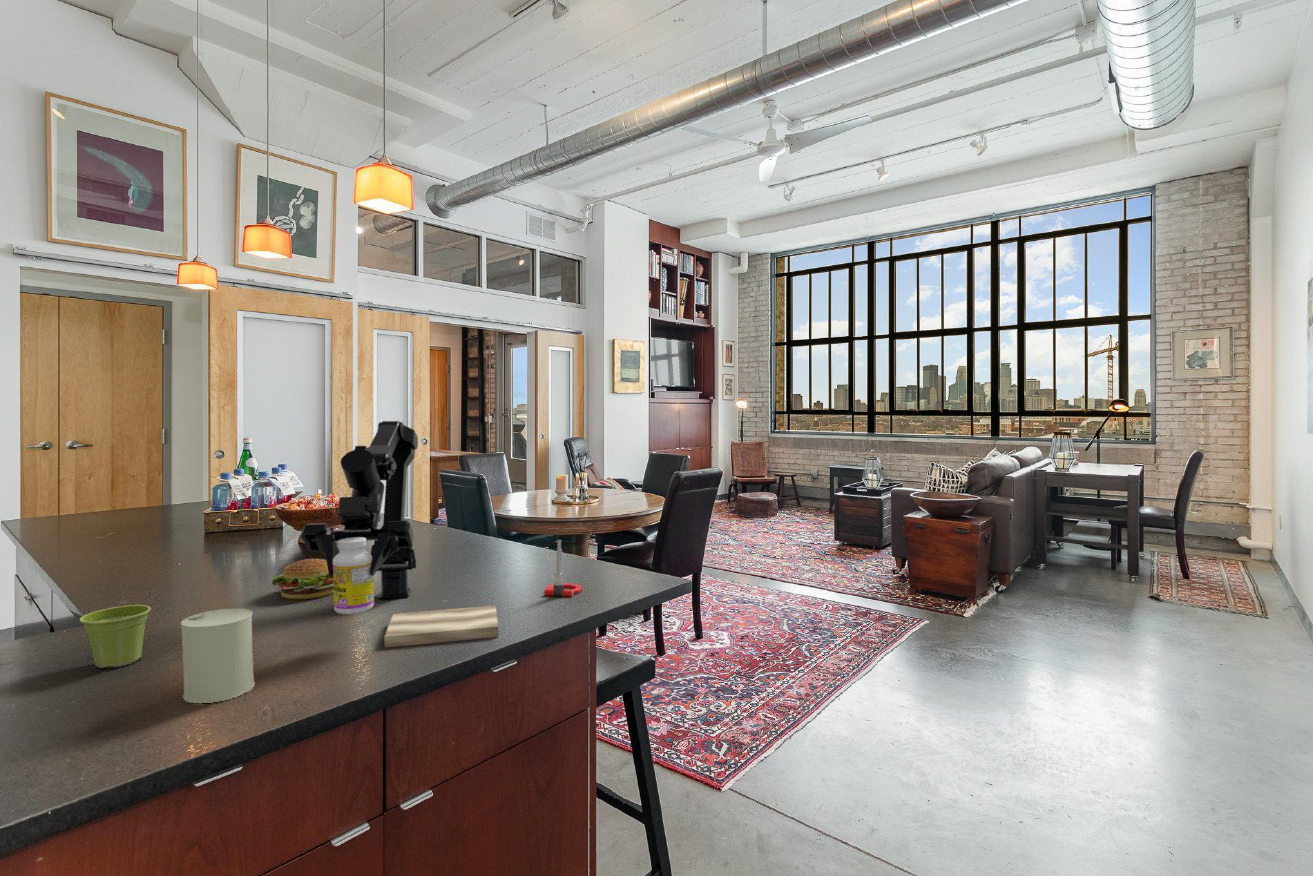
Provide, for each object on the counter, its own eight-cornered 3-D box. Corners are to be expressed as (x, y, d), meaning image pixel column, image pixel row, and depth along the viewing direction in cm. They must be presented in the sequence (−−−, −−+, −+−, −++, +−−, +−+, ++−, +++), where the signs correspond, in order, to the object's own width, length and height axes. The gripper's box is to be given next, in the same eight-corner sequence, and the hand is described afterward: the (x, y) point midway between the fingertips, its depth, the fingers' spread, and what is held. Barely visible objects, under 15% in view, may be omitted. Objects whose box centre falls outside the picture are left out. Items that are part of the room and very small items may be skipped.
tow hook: (552, 587, 162) (540, 596, 153) (552, 534, 162) (540, 540, 153) (586, 589, 161) (575, 598, 152) (586, 535, 161) (576, 541, 152)
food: (310, 583, 166) (309, 551, 166) (353, 588, 161) (352, 556, 161) (259, 598, 153) (258, 563, 153) (305, 604, 148) (304, 569, 148)
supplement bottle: (328, 609, 122) (326, 539, 121) (365, 601, 126) (363, 534, 126) (341, 617, 117) (339, 545, 116) (379, 609, 121) (377, 539, 121)
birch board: (393, 623, 134) (393, 613, 134) (495, 614, 139) (495, 605, 139) (384, 647, 121) (384, 636, 120) (498, 636, 126) (498, 626, 126)
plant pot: (95, 678, 107) (92, 625, 107) (72, 666, 112) (70, 615, 112) (162, 659, 115) (160, 610, 115) (138, 649, 120) (136, 602, 120)
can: (205, 680, 106) (203, 606, 106) (266, 678, 107) (264, 604, 107) (168, 706, 97) (165, 624, 97) (235, 703, 98) (232, 622, 97)
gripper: (302, 480, 123) (281, 553, 112) (409, 478, 126) (398, 548, 116) (318, 515, 131) (300, 586, 121) (417, 512, 134) (408, 581, 124)
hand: (351, 575), depth 120 cm, fingers closed on supplement bottle, 7 cm apart
